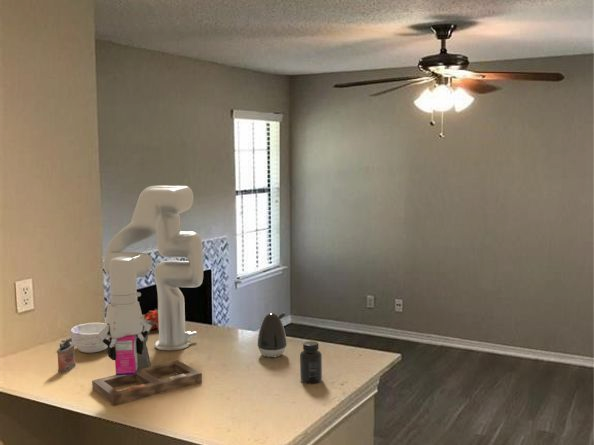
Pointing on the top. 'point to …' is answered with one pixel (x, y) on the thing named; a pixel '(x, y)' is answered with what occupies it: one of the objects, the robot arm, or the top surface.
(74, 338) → the paper bowls
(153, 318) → the dragon fruit
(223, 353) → the top surface
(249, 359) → the top surface
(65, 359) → the lighter
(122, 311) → the robot arm
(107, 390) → the wooden compartment tray
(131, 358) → the supplement box
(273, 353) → the dark grey tapered dome
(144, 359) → the coffeepot
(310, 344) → the supplement bottle
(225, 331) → the top surface
